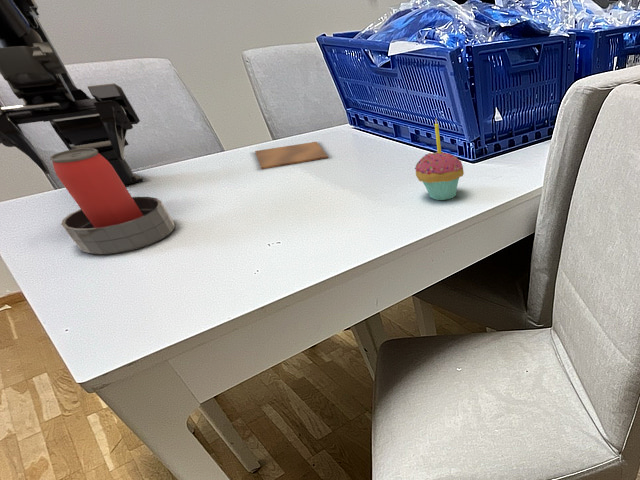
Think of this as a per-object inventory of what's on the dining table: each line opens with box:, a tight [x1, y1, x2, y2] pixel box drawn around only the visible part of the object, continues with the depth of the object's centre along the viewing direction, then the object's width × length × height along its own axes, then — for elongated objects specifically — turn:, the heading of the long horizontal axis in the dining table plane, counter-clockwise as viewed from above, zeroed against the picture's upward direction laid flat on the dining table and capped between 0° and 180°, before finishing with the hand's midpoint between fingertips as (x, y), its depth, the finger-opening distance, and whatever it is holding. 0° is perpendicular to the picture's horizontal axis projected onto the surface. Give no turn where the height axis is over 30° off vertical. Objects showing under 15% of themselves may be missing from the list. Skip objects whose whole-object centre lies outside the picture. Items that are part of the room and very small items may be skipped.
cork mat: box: [254, 141, 329, 170], centre depth 102 cm, size 14×14×1 cm
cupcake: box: [414, 117, 465, 201], centre depth 78 cm, size 9×8×12 cm
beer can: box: [49, 148, 143, 228], centre depth 68 cm, size 7×7×12 cm
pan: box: [60, 196, 175, 255], centre depth 71 cm, size 13×13×4 cm
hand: (85, 165), depth 67 cm, fingers open, 9 cm apart
